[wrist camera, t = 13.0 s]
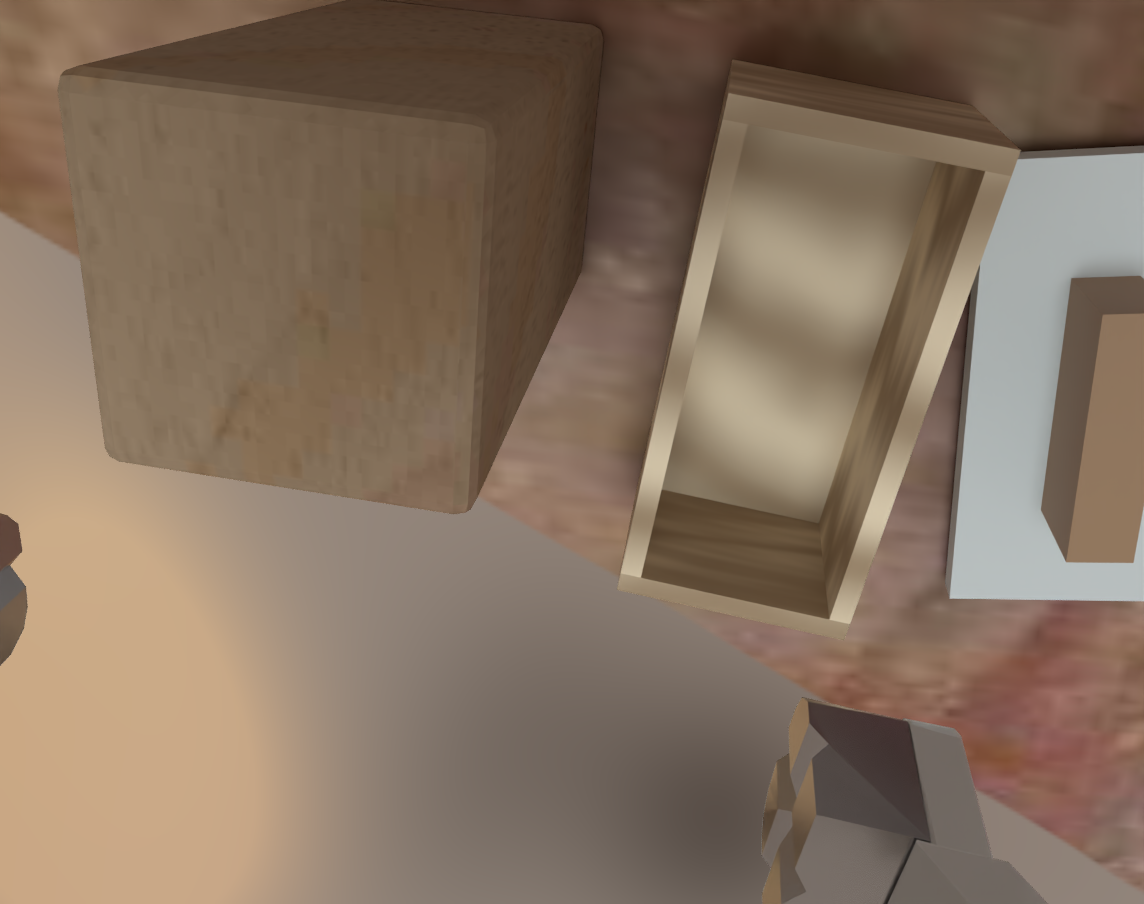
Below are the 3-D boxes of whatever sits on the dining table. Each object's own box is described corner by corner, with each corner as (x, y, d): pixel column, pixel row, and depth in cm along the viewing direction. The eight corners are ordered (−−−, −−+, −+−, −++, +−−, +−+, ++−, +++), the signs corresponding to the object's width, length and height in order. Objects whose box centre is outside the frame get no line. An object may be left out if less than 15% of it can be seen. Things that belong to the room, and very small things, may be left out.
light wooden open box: (732, 59, 40) (728, 93, 33) (972, 105, 39) (1020, 150, 32) (636, 490, 49) (617, 589, 42) (830, 532, 48) (843, 640, 41)
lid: (977, 148, 40) (1014, 187, 35) (1237, 134, 39) (1317, 172, 33) (941, 570, 49) (966, 655, 43) (1153, 572, 47) (1206, 660, 42)
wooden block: (606, 24, 40) (493, 121, 22) (581, 279, 45) (471, 524, 27) (348, -5, 41) (44, 66, 23) (351, 247, 45) (99, 466, 28)
